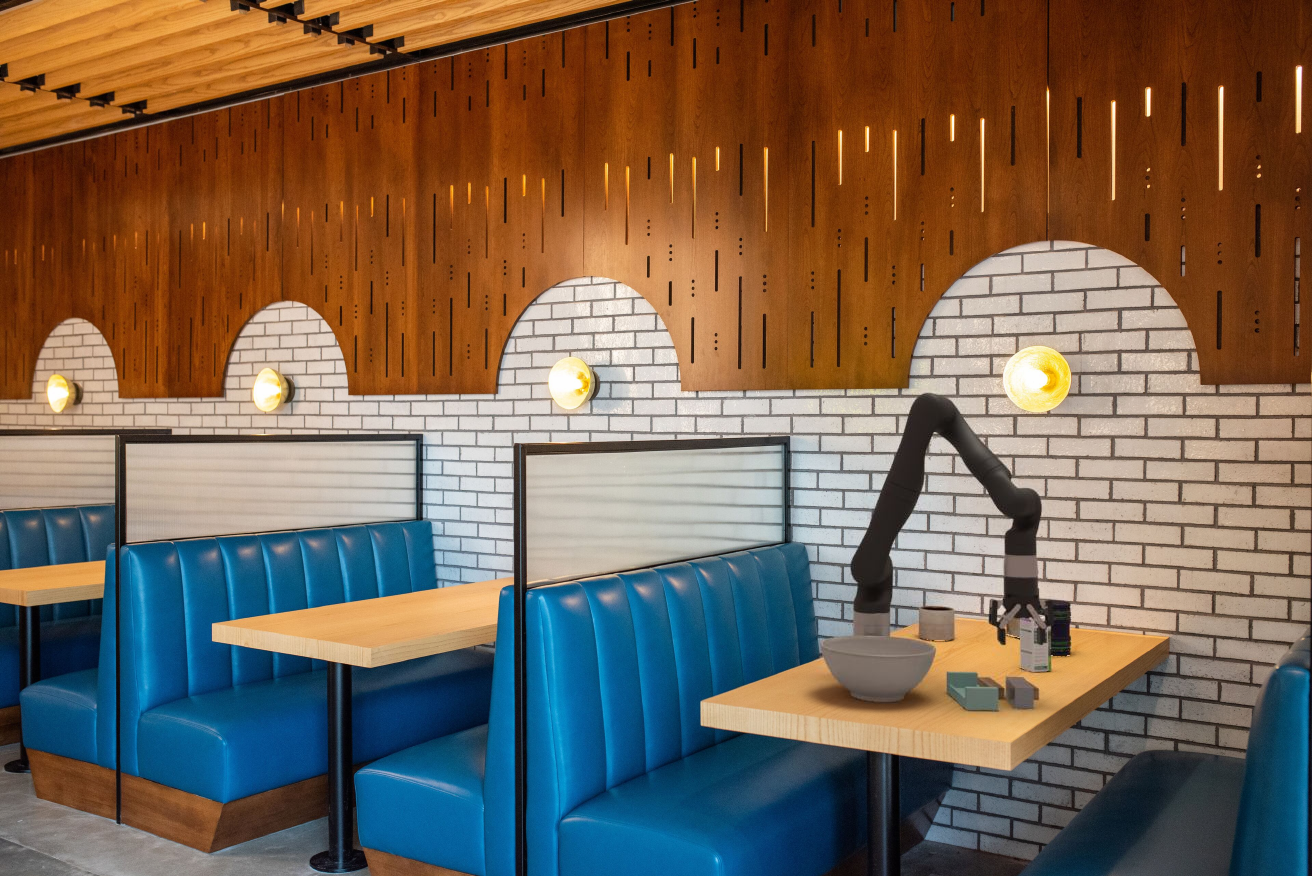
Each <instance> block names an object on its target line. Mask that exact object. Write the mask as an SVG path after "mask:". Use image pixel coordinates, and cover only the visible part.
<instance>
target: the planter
mask: <svg viewBox="0 0 1312 876" xmlns="http://www.w3.org/2000/svg"><path fill="white" fill-rule="evenodd" d="M955 635H956V634H955V609H954V608H953V607H950V606H949V607H948V606H941V605H940V606H939V605H922V606H920V607H918V637H919V638H920V639H921V638H922V639H921V640H923V639H928V640H951V639H953V640H954V639H955V637H956V636H955Z"/></svg>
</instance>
